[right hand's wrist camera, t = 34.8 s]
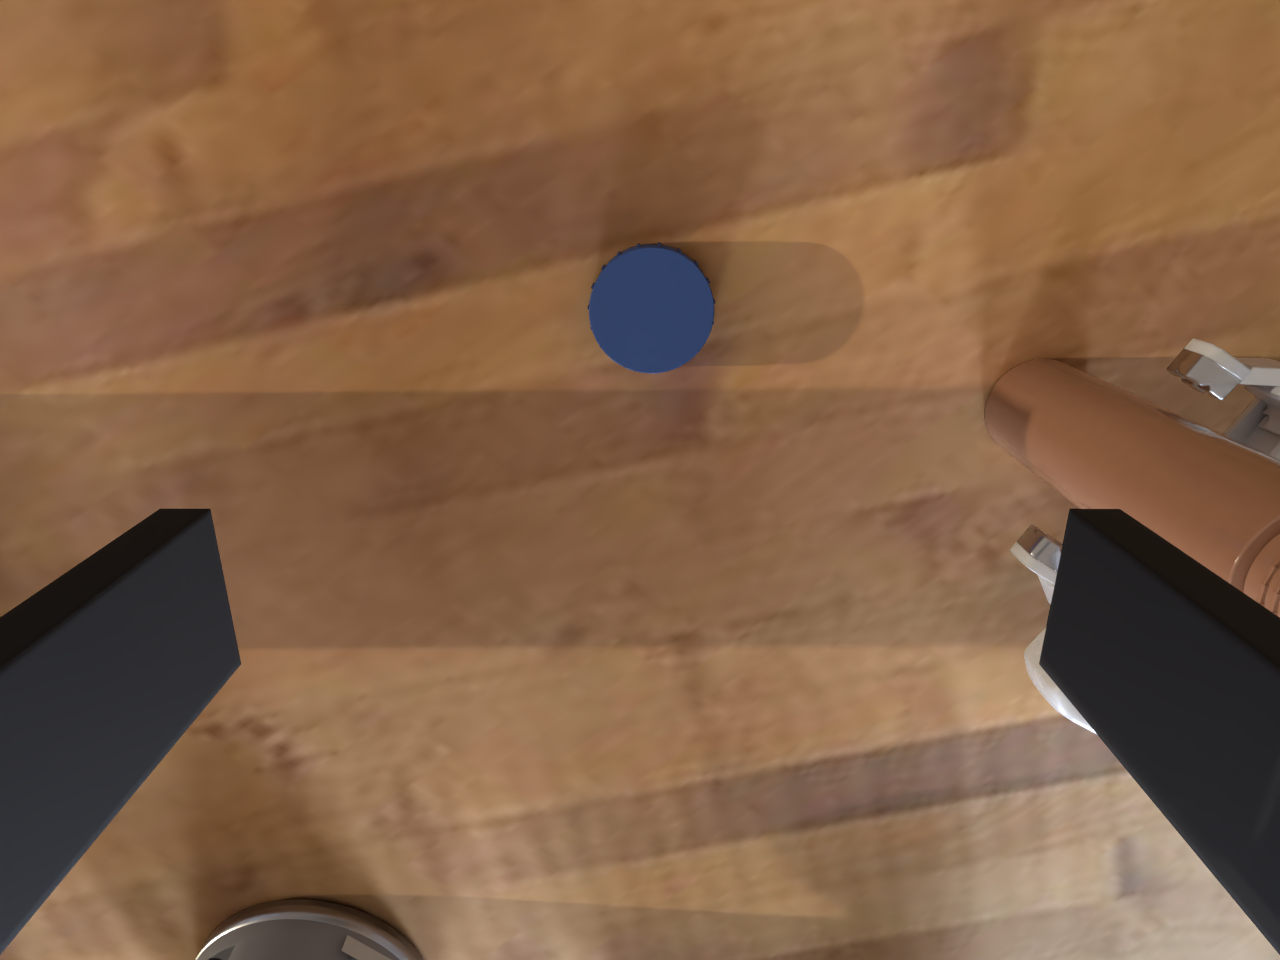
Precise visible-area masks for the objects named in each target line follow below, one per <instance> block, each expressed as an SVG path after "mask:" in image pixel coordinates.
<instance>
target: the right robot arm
mask: <svg viewBox="0 0 1280 960" xmlns="http://www.w3.org/2000/svg"><path fill="white" fill-rule="evenodd" d="M240 665H241V661H240V656H239V651H238V646H237V641H236V636H235V631H234V626H233V621H232V616H231V611H230V606H229V601H228V596H227V591H226V586H225V581H224V576H223V571H222V566H221V561H220V555H219V550H218V545H217V540H216V535H215V530H214V525H213V520H212V515H211V510H210V509H159V510H158V511H156V512H155V513H153V514H152V515H150V516H149V517H147V518H146V519H144V520H143V521H141V522H140V523H139V524H137V525H136V526H134V527H133V528H131V529H130V530H128V531H127V532H125V533H124V534H122V535H121V536H119V537H118V538H116V539H115V540H114V541H112V542H111V543H109V544H108V545H106V546H105V547H103V548H102V549H100V550H99V551H97V552H96V553H94V554H93V555H92V556H90V557H89V558H87V559H86V560H84V561H83V562H81V563H80V564H78V565H77V566H75V567H74V568H72V569H71V570H69V571H68V572H67V573H65V574H64V575H62V576H61V577H59V578H58V579H56V580H55V581H53V582H52V583H50V584H49V585H47V586H46V587H44V588H43V589H42V590H40V591H39V592H37V593H36V594H34V595H33V596H31V597H30V598H28V599H27V600H25V601H24V602H22V603H21V604H19V605H18V606H17V607H15V608H14V609H12V610H11V611H9V612H8V613H6V614H5V615H3V616H2V617H0V954H1V953H2V952H3V951H4V950H5V948H6V947H7V946H8V945H9V944H10V942H11V941H12V940H13V939H14V938H15V936H16V935H17V934H18V933H19V932H20V930H21V929H22V928H23V927H24V925H25V924H26V923H27V922H28V921H29V919H30V918H31V917H32V916H33V915H34V913H35V912H36V911H37V910H38V909H39V907H40V906H41V905H42V904H43V903H44V901H45V900H46V899H47V898H48V897H49V895H50V894H51V893H52V892H53V890H54V889H55V888H56V887H57V886H58V884H59V883H60V882H61V881H62V880H63V878H64V877H65V876H66V875H67V874H68V872H69V871H70V870H71V869H72V868H73V866H74V865H75V864H76V863H77V861H78V860H79V859H80V858H81V857H82V855H83V854H84V853H85V852H86V851H87V849H88V848H89V847H90V846H91V845H92V843H93V842H94V841H95V840H96V839H97V837H98V836H99V835H100V834H101V833H102V831H103V830H104V829H105V828H106V826H107V825H108V824H109V823H110V822H111V820H112V819H113V818H114V817H115V816H116V814H117V813H118V812H119V811H120V810H121V808H122V807H123V806H124V805H125V804H126V802H127V801H128V800H129V799H130V798H131V796H132V795H133V794H134V793H135V791H136V790H137V789H138V788H139V787H140V785H141V784H142V783H143V782H144V781H145V779H146V778H147V777H148V776H149V775H150V773H151V772H152V771H153V770H154V769H155V767H156V766H157V765H158V764H159V763H160V761H161V760H162V759H163V758H164V756H165V755H166V754H167V753H168V752H169V750H170V749H171V748H172V747H173V746H174V744H175V743H176V742H177V741H178V740H179V738H180V737H181V736H182V735H183V734H184V732H185V731H186V730H187V729H188V728H189V726H190V725H191V724H192V723H193V721H194V720H195V719H196V718H197V717H198V715H199V714H200V713H201V712H202V711H203V709H204V708H205V707H206V706H207V705H208V703H209V702H210V701H211V700H212V699H213V697H214V696H215V695H216V694H217V692H218V691H219V690H220V689H221V688H222V686H223V685H224V684H225V683H226V682H227V680H228V679H229V678H230V677H231V676H232V674H233V673H234V672H235V671H236V670H237V668H238V667H239V666H240ZM1039 665H1040V666H1041V667H1042V668H1043V670H1044V671H1045V672H1046V673H1047V674H1048V676H1049V677H1050V678H1051V679H1052V680H1053V682H1054V683H1055V684H1056V685H1057V686H1058V688H1059V689H1060V690H1061V691H1062V692H1063V694H1064V695H1065V696H1066V697H1067V699H1068V700H1069V701H1070V702H1071V703H1072V705H1073V706H1074V707H1075V708H1076V709H1077V711H1078V712H1079V713H1080V714H1081V715H1082V717H1083V718H1084V719H1085V720H1086V721H1087V723H1088V724H1089V725H1090V726H1091V728H1092V729H1093V730H1094V731H1095V732H1096V734H1097V735H1098V736H1099V737H1100V738H1101V740H1102V741H1103V742H1104V743H1105V744H1106V746H1107V747H1108V748H1109V749H1110V750H1111V752H1112V753H1113V754H1114V755H1115V756H1116V758H1117V759H1118V760H1119V761H1120V763H1121V764H1122V765H1123V766H1124V767H1125V769H1126V770H1127V771H1128V772H1129V773H1130V775H1131V776H1132V777H1133V778H1134V779H1135V781H1136V782H1137V783H1138V784H1139V785H1140V787H1141V788H1142V789H1143V790H1144V791H1145V793H1146V794H1147V795H1148V796H1149V798H1150V799H1151V800H1152V801H1153V802H1154V804H1155V805H1156V806H1157V807H1158V808H1159V810H1160V811H1161V812H1162V813H1163V814H1164V816H1165V817H1166V818H1167V819H1168V820H1169V822H1170V823H1171V824H1172V825H1173V826H1174V828H1175V829H1176V830H1177V831H1178V833H1179V834H1180V835H1181V836H1182V837H1183V839H1184V840H1185V841H1186V842H1187V843H1188V845H1189V846H1190V847H1191V848H1192V849H1193V851H1194V852H1195V853H1196V854H1197V855H1198V857H1199V858H1200V859H1201V860H1202V861H1203V863H1204V864H1205V865H1206V866H1207V868H1208V869H1209V870H1210V871H1211V872H1212V874H1213V875H1214V876H1215V877H1216V878H1217V880H1218V881H1219V882H1220V883H1221V884H1222V886H1223V887H1224V888H1225V889H1226V890H1227V892H1228V893H1229V894H1230V895H1231V897H1232V898H1233V899H1234V900H1235V901H1236V903H1237V904H1238V905H1239V906H1240V907H1241V909H1242V910H1243V911H1244V912H1245V913H1246V915H1247V916H1248V917H1249V918H1250V919H1251V921H1252V922H1253V923H1254V924H1255V925H1256V927H1257V928H1258V929H1259V930H1260V932H1261V933H1262V934H1263V935H1264V936H1265V938H1266V939H1267V940H1268V941H1269V942H1270V944H1271V945H1272V946H1273V947H1274V948H1275V950H1276V951H1277V952H1278V953H1279V954H1280V617H1278V616H1277V615H1275V614H1274V613H1272V612H1271V611H1269V610H1268V609H1266V608H1265V607H1263V606H1262V605H1261V604H1259V603H1258V602H1256V601H1255V600H1253V599H1252V598H1250V597H1249V596H1247V595H1246V594H1244V593H1243V592H1241V591H1240V590H1238V589H1237V588H1236V587H1234V586H1233V585H1231V584H1230V583H1228V582H1227V581H1225V580H1224V579H1222V578H1221V577H1219V576H1218V575H1216V574H1215V573H1213V572H1212V571H1211V570H1209V569H1208V568H1206V567H1205V566H1203V565H1202V564H1200V563H1199V562H1197V561H1196V560H1194V559H1193V558H1191V557H1190V556H1188V555H1187V554H1186V553H1184V552H1183V551H1181V550H1180V549H1178V548H1177V547H1175V546H1174V545H1172V544H1171V543H1169V542H1168V541H1166V540H1165V539H1163V538H1162V537H1161V536H1159V535H1158V534H1156V533H1155V532H1153V531H1152V530H1150V529H1149V528H1147V527H1146V526H1144V525H1143V524H1141V523H1140V522H1139V521H1137V520H1136V519H1134V518H1133V517H1131V516H1130V515H1128V514H1127V513H1125V512H1124V511H1122V510H1121V509H1070V510H1069V515H1068V520H1067V525H1066V530H1065V535H1064V540H1063V545H1062V550H1061V555H1060V561H1059V566H1058V571H1057V576H1056V581H1055V586H1054V591H1053V596H1052V601H1051V606H1050V611H1049V616H1048V621H1047V626H1046V631H1045V636H1044V641H1043V646H1042V651H1041V656H1040V661H1039ZM195 960H423V958H422V957H421V955H420V954H419V953H418V951H417V950H416V949H415V948H414V947H413V945H412V944H411V943H410V942H409V941H408V940H407V939H406V938H404V937H403V936H402V935H401V934H400V933H399V932H397V931H396V930H394V929H393V928H392V927H390V926H389V925H387V924H386V923H384V922H382V921H380V920H379V919H377V918H375V917H373V916H371V915H369V914H366V913H364V912H361V911H359V910H357V909H353V908H350V907H347V906H344V905H340V904H336V903H331V902H325V901H318V900H307V899H291V900H279V901H272V902H267V903H262V904H259V905H256V906H252V907H250V908H247V909H245V910H242V911H240V912H238V913H236V914H234V915H232V916H231V917H229V918H228V919H226V920H225V921H224V922H222V923H221V924H220V925H219V926H218V927H217V928H216V929H215V930H214V931H213V932H212V933H211V934H210V936H209V937H208V939H207V940H206V942H205V944H204V945H203V947H202V949H201V951H200V952H199V954H198V956H197V957H196V959H195Z"/></svg>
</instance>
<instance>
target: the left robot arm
mask: <svg viewBox="0 0 1280 960" xmlns="http://www.w3.org/2000/svg"><path fill="white" fill-rule="evenodd" d="M1167 371H1168V372H1170V373H1171V374H1173V375H1174V376H1177V377H1179V378H1181V380H1182V382H1184V383H1185V384H1187V385H1188V386H1190V387H1191V388H1193V389H1194V390H1197V391H1199V392H1202V393H1207V394H1209V395H1210V396H1212V397H1215V398H1217V399H1220V400H1223V399H1224V398H1225V397H1226V396H1227V395H1228V394H1229V393H1230V392H1231V391H1232V390H1233V389H1234V388H1235V387H1236V385H1237V384H1245V389H1247V390H1248V391H1249V392H1251V393H1252V394H1254V395H1255V396H1256V398H1255V399H1254V400H1253V401H1252V402H1251V404H1250V405H1249V406H1248V407H1247V408H1246V409H1245V410H1244V411H1243V412H1242V413H1241V414H1240V416H1239V417H1238V418H1237V419H1236V420H1235V421H1234V422H1233V423H1232V424H1231V425H1230V426H1229V428H1228V429H1227V430H1226V431H1225V432H1224V433H1223V434H1224V435H1226V436H1228V437H1230V438H1233V439H1235V440H1237V441H1239V442H1241V443H1244V444H1246V445H1248V446H1250V447H1253V448H1255V449H1257V450H1259V451H1261V452H1264V453H1266V454H1268V455H1270V456H1272V457H1275V458H1277V459H1279V460H1280V362H1279V361H1276V360H1273V359H1269V358H1237V357H1233V356H1231V355H1230V354H1229V353H1227V352H1226V351H1225V350H1223V349H1221V348H1219V347H1217V346H1215V345H1213V344H1211V343H1208V342H1205V341H1201V340H1198V339H1194V338H1193V339H1192V340H1191V341H1190V342H1189V343H1188V344H1187V345H1186V347H1185V348H1184V349H1183V350H1182V351H1181V353H1180V354H1179V355H1178V356H1177V357H1176V358H1175V360H1174V361H1173V362H1172V363H1171V364H1170V365H1169V367H1168V368H1167ZM1062 545H1063V544H1061V543H1060V542H1059V541H1058V540H1056V539H1054V538H1053V537H1051V536H1050V535H1048V534H1045V533H1044V532H1043V531H1041V530H1040V529H1039V528H1037V527H1036V526H1034V525H1031V526H1030V527H1029V528H1028V529H1027V530H1026V531H1025V533H1024V534H1023V535H1022V536H1021V537H1020V538H1019V539H1018V540H1017V542H1016V543H1015V544H1014V545H1013V546H1012V548H1011V549H1010V552H1011V553H1012V554H1013V555H1014V556H1015V557H1016V558H1017V559H1018V560H1019V561H1020V562H1021V563H1022V564H1024V565H1025V566H1026V567H1028V568H1029V569H1030V570H1032V571H1033V572H1035V573H1036V574H1037V575H1038V577H1039V580H1040V583H1041V585H1042V588H1043V590H1044V593H1045V595H1046V598H1047V600H1048V602H1049V603H1050V604H1051V601H1052V596H1053V591H1054V586H1055V581H1056V576H1057V571H1058V566H1059V561H1060V555H1061V550H1062ZM1045 631H1046V627H1045V628H1044V629H1043V630H1042V632H1041V633H1040V634H1039V635H1038V636H1037V637H1036V638H1035V639H1034V640H1033V641H1032V642H1031V643H1030V644H1029V646H1028V647H1027V648H1026V650H1025V652H1024V659H1025V664H1026V668H1027V671H1028V675H1029V677H1030V678H1031V680H1032V682H1033V683H1034V685H1035V686H1036V687H1037V689H1038V690H1039V691H1040V693H1041V694H1042V695H1043V696H1044V698H1045V699H1046V700H1047V701H1048V702H1049V703H1050V704H1051V705H1052V706H1053V707H1054V708H1055V709H1056V710H1057V711H1058V712H1059V713H1061V714H1062V715H1063V716H1065V717H1066V718H1068V719H1069V720H1071V721H1073V722H1074V723H1076V724H1078V725H1080V726H1082V727H1083V728H1085V729H1087V730H1089V731H1091V732H1093V733H1095V734H1096V732H1095V731H1094V730H1093V729H1092V728H1091V726H1090V725H1089V724H1088V723H1087V721H1086V720H1085V719H1084V718H1083V717H1082V715H1081V714H1080V713H1079V712H1078V711H1077V709H1076V708H1075V707H1074V706H1073V705H1072V703H1071V702H1070V701H1069V700H1068V699H1067V697H1066V696H1065V695H1064V694H1063V692H1062V691H1061V690H1060V689H1059V688H1058V686H1057V685H1056V684H1055V683H1054V682H1053V680H1052V679H1051V678H1050V677H1049V676H1048V674H1047V673H1046V672H1045V671H1044V670H1043V668H1042V667H1041V666H1040V665H1039V661H1040V656H1041V651H1042V646H1043V641H1044V636H1045Z"/></svg>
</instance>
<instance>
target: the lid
mask: <svg viewBox="0 0 1280 960" xmlns="http://www.w3.org/2000/svg"><path fill="white" fill-rule="evenodd" d="M708 283H710V281H709V280H708V278H705V276H704V274H703V273H702V271H701V270H700V268H699V267H698V263H697V262H696V261H693V260H692V259H691V258H689V257H688V256H687V255H685V254H684V253H682V252H681V250H680V249H679V248H678V250H677V249H674V248H672V247H669V246H665V245H661V243H659V242H658V244H644V245H640V243H639V244H637V246H635V247H631V248H629V249H627V250H625V251H623V252H620V251H619V252H618V254H617V255H616V256H615V257H614V258H613V259H612V260H610V261H609V262H608V264H607V265H606V266H605V265H603V267H602V271H601V273H600V274H599V276H598V278H597V280H596V282H595V283H593V285H592V287H591V288H592V289H593V290H592V293H591V297H590V303H589V305H588V309H589V318H590V324H591V330H592V331H593V334H594V336H595V338H596V340H597V342H598V344H599V345H600V347H601V348H602V349H603V351H604V352H605V353H606V354H607V355H608V356H609V357H610V358H611V359H612V360H614V361H615V362H616V363H618V364H619V365H621V366H623V367H625V368H627V369H630V370H633V371H637V372H641V373H661V372H666V371H670V370H673V369H675V368H678V367H680V366H682V365H683V364H685V363H687V362H688V361H689V360H690V359H692V358H693V357H694V356H695V355H696V354H697V353H698V352H699V351H700V349H701V348H702V347H703V345H704V344H705V343H706V340H707V339H708V336H709V334H710V331H711V328H712V324H714V322H713V319H714V304H715V300H714V299H713V296H712V292H711V289H710V286H709V284H708Z"/></svg>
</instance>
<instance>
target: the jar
mask: <svg viewBox="0 0 1280 960" xmlns="http://www.w3.org/2000/svg"><path fill="white" fill-rule="evenodd" d="M985 424H986V428H987V431H988V433H989V435H990V437H991V438H992V440H993V441H994V442H995V443H996V444H997V445H998V446H999V447H1000V448H1001V449H1003V450H1004V451H1005V452H1007V453H1008V454H1009V455H1010V456H1012V457H1013V458H1014V459H1016V460H1017V461H1018V462H1019V463H1021V464H1022V465H1023V466H1025V467H1026V468H1027V469H1029V470H1030V471H1031V472H1032V473H1034V474H1035V475H1036V476H1038V477H1039V478H1040V479H1041V480H1043V481H1044V482H1045V483H1047V484H1048V485H1049V486H1051V487H1052V488H1053V489H1054V490H1056V491H1057V492H1058V493H1060V494H1061V495H1062V496H1063V497H1065V498H1066V499H1067V500H1069V501H1070V502H1071V503H1073V504H1074V505H1075V506H1076V507H1078V508H1079V509H1121V510H1122V511H1124V512H1125V513H1127V514H1128V515H1130V516H1131V517H1133V518H1134V519H1136V520H1137V521H1139V522H1140V523H1141V524H1143V525H1144V526H1146V527H1147V528H1149V529H1150V530H1152V531H1153V532H1155V533H1156V534H1158V535H1159V536H1161V537H1162V538H1163V539H1165V540H1166V541H1168V542H1169V543H1171V544H1172V545H1174V546H1175V547H1177V548H1178V549H1180V550H1181V551H1183V552H1184V553H1186V554H1187V555H1188V556H1190V557H1191V558H1193V559H1194V560H1196V561H1197V562H1199V563H1200V564H1202V565H1203V566H1205V567H1206V568H1208V569H1209V570H1211V571H1212V572H1213V573H1215V574H1216V575H1218V576H1219V577H1221V578H1222V579H1224V580H1225V581H1227V582H1228V583H1230V584H1231V585H1233V586H1234V587H1236V588H1237V589H1238V590H1240V591H1241V592H1243V593H1244V594H1246V595H1247V596H1249V597H1250V598H1252V599H1253V600H1255V601H1256V602H1258V603H1259V604H1261V605H1262V606H1263V607H1265V608H1266V609H1268V610H1269V611H1271V612H1272V613H1274V614H1275V615H1277V616H1278V617H1280V460H1279V459H1277V458H1275V457H1272V456H1270V455H1268V454H1266V453H1264V452H1261V451H1259V450H1257V449H1255V448H1253V447H1250V446H1248V445H1246V444H1244V443H1241V442H1239V441H1237V440H1235V439H1233V438H1230V437H1228V436H1226V435H1224V434H1221V433H1219V432H1217V431H1215V430H1213V429H1210V428H1208V427H1206V426H1204V425H1201V424H1199V423H1197V422H1195V421H1193V420H1190V419H1188V418H1186V417H1184V416H1182V415H1179V414H1177V413H1175V412H1173V411H1170V410H1168V409H1166V408H1164V407H1162V406H1159V405H1157V404H1155V403H1153V402H1150V401H1148V400H1146V399H1144V398H1142V397H1139V396H1137V395H1135V394H1133V393H1131V392H1128V391H1126V390H1124V389H1122V388H1119V387H1117V386H1115V385H1113V384H1111V383H1108V382H1106V381H1104V380H1102V379H1099V378H1097V377H1095V376H1093V375H1091V374H1088V373H1086V372H1084V371H1082V370H1080V369H1077V368H1075V367H1073V366H1071V365H1068V364H1066V363H1064V362H1061V361H1058V360H1054V359H1035V360H1031V361H1027V362H1024V363H1022V364H1020V365H1018V366H1016V367H1014V368H1012V369H1011V370H1009V371H1008V372H1007V373H1006V374H1004V375H1003V376H1002V377H1001V378H1000V379H999V381H998V382H997V383H996V384H995V386H994V387H993V389H992V390H991V392H990V395H989V397H988V400H987V403H986V407H985Z"/></svg>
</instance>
